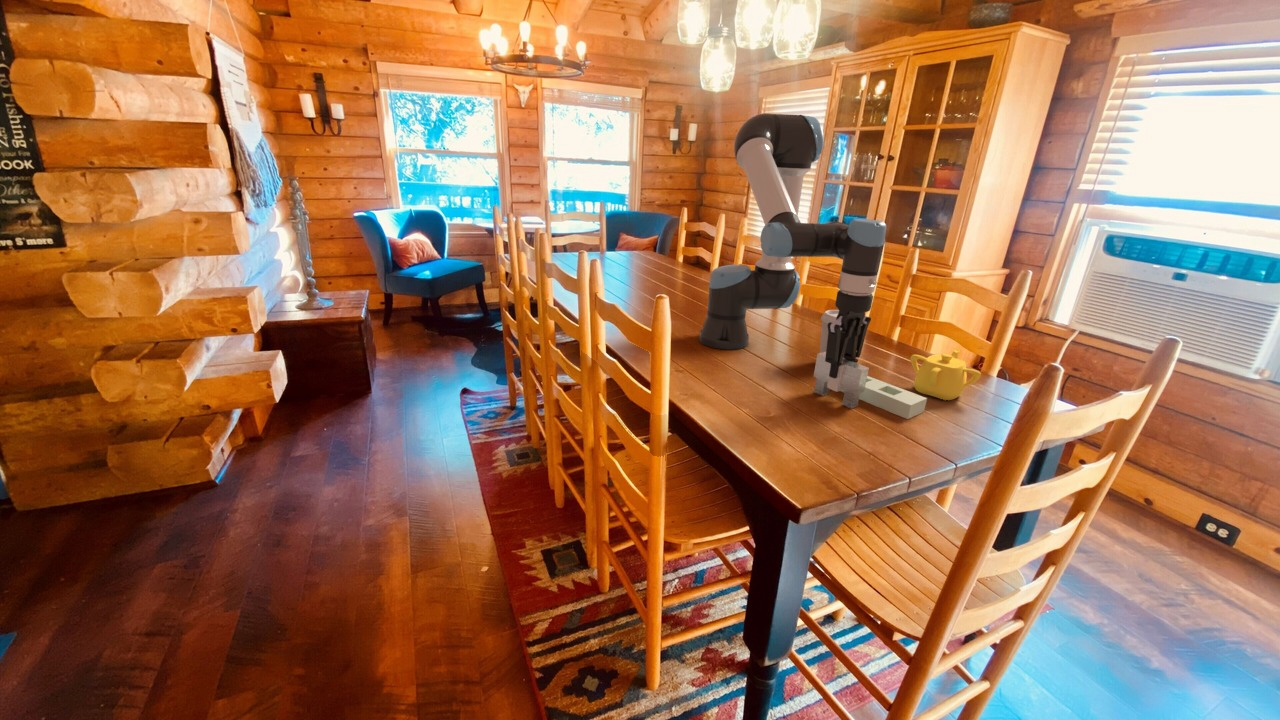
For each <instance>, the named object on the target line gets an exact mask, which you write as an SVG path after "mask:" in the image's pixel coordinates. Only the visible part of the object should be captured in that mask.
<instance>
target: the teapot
mask: <svg viewBox="0 0 1280 720" xmlns="http://www.w3.org/2000/svg"><path fill="white" fill-rule="evenodd" d="M960 351H961V350H960V349H959V348H955V349H954V350H953V351H952V353H951V354H947V353H942V354H937V353H936V354H932V355H930V356H928V357H926V356H923V355H920V354H912V355H911V356H910V363H911V365H912V368H913V370H914V371H915V373H916V375H915V378H914V381H913V383H914V389H915V391H917V392H919V393H920V394H923V395H927V396H930V397H934V398H937V399H939V400H942V399H943V400H942V401H946V400H948V401H951V400H954V399H956V398H958V397H959V396H961V395H962V393H963V392H964V391H965V390H966V388H967V387H968V386H971V385H972V384H974V383H976V382H977V381H978V380H979V379H980V378H981V376H982V373H981V372H980V371H979V370H976V369H972V368H968V367H967V365H966V361H965V360H962V359H959V354H960ZM918 360H921V361H923V363H922V365H921V366H920V367H919V364H918ZM967 373H969V374H971V375H972V376H971V378H970V379H969V380H968V381H967V376H968V374H967Z"/></svg>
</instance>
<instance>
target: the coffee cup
mask: <svg viewBox="0 0 1280 720" xmlns="http://www.w3.org/2000/svg"><path fill="white" fill-rule="evenodd" d="M838 313H839V309H828V310H826V311H825V312H824V313H823V314H822V316H821V318H820V321H821V322H822V323H821V336H820V349H819V353H822V352H826V349H827V340H828V326H827V325H828V323H829V322H831V323H834V322H835V321H836V317H837V315H838ZM843 359H844V357H843Z"/></svg>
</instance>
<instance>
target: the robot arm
mask: <svg viewBox="0 0 1280 720" xmlns="http://www.w3.org/2000/svg"><path fill="white" fill-rule="evenodd" d="M824 135H825V134H824V130H823V127H822V125H821V122H820V121H819V119H818V118H817V117H814V116H809V115H804V114H781V113H780V114H779V113H769V112H768V113H759V114H756V115H754V116H752V117H751V118H749V119H747V120H746V121H745V122H744V123H743V124H742V126H741V127H740V128H739V130H738V132H737V133H736V136H735V139H734V145H733V152H734V157H735V160H736V163H737V165H738V166H739V167H740V168H741V169H743V170H744V173H745V175H746V177H747V180H748V183H749V187H750V189H751V191H752V193H753V195H754V196H753V197H754V199H755V201H756V204H757V208H758V209H759V213H760V215H761V217H762V220H763V223H764V226H763V228H762V229H761V233H760V248H761V249H760V250H761V251H762V252H761V257H760V259H758V260H757V261H756V262H755V264H754V270H751V267H750V266H748V265H747V264H746V265H745V264H728V265H722V266H719V267H716V268H714V269H713V270H712V271H711V273H710V277H709V278H710V279H709V283H708V299H707V311H706V318H705V321H703V324H702V329H700V331H699V337H698V338H699V339H698V340H699V342H700V343H701V344H702V345H705V346H707V347H709V348H714V349H718V350H740V349H744V348H745V347H748V345H749V339H750V336H749V333H748V328H747V323H746V322H747V321H746V314H747V310H770V309H772V310H779V309H787V308H790V307H791V306H792V305H793V304H794V303H795V302H796V300H797V299H798V297H799V294H800V289H801V281H800V280H801V277H800V274H799V273H798V272H797V271H796V270H795V269H796V266H795V265H794V263H793V262H792V258H793V257H794V258H796V257H797V258H798V257H799V258H801V257H804V258H805V257H808V258H821V257H822V258H827V257H829V258H837V259H840V260H842V265H841V269H840V270H841V271H840V275H839V281H838V284H837V285H838V286H837V288H838V289H839V290H838V291H837V292H836V298H835V303H834V304H835V305H834V306H835V307H836V308H837V310H839V313H838V315H837V317H836V321H835V322H834V323H831V322H829V323H828V325H827V326H828V340H827V349H826V358H825V361H826V362H828V363H831V367H830V373H829V379H828V385H827V388H829V390H832V391H834V392H840V391H839V386H840V381H841V376H842V371H843V365H841V364H842V360H843V357H844V359H846V360H849V361H852V362H854V363H857V364H858V361H859V359H858V358H860V356H861V354H862V350H863V346H864V342H865V339H866V335H867V331H868V328H869V325H870V323H871V321H872V318H871V317H870V316H866V313H869V312H870V310H872V305H873V304H872V303H873V300H874V296H873V294H872V293H874V292H875V289H876V285H877V284H878V283H877V278H878V273H879V269H880V266H881V265H880V264H881V260H882V256H883V252H884V247H885V244H886V239H885V238H886V234H887V224H886V223H885V222H884V221H882V220H877V219H868V218H856V219H852V220H851V221H850V222H849V224H846V223H843V222H840V221H826V222H824V223H812V222H808V223H807V222H804V223H803V222H801V220H800V218H799V216H798V215H799V209H800V208H799V207H800V202H801V196H802V189H803V183H804V176H805V175H806V174H807V173H808V172H809V171H810V170H811V169H812V164H813V163H815V162H817V161H818V160H819V159H820V157H821V154H822V152H823V149H824V141H825V140H824V139H825V136H824Z"/></svg>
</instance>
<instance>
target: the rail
mask: <svg viewBox="0 0 1280 720" xmlns="http://www.w3.org/2000/svg"><path fill="white" fill-rule="evenodd" d="M838 392H841V393H845V389H842V388H840V387H839V391H838ZM859 401H863V402H865V403H868V404H869V405H872V406H874V407H877V408H880V409H881V410H884V411H887V412H889V413H891V414H894V415H896V416H899V417H902V418H904V419H906V420H909V419H911V418H913V417H915V416H918V415H920V414H922V413H924V412H925V409H926V406H927V401H928V397H925V396H923V395H920V394H917V393H915V392H912V391H909V390H906V389H904V388H901V387H899V386H895V385H893V384H890V383H889V382H885V381H883V380H880V379H877V378H874V377H871V376H870V375H868V376H867V381H866V385H865V390H864V392H863V393H860V396H859Z"/></svg>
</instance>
